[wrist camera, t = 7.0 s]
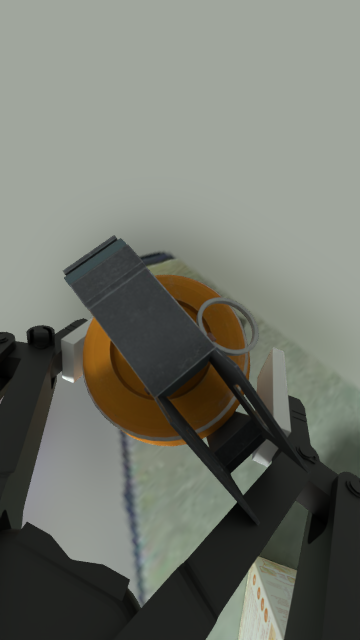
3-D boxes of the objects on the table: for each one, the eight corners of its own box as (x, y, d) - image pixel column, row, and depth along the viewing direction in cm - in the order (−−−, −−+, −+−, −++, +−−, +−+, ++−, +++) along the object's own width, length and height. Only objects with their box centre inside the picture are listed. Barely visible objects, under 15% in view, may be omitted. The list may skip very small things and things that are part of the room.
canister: (186, 319, 28) (168, 149, 9) (257, 400, 25) (454, 403, 6) (121, 371, 27) (-61, 300, 8) (188, 462, 24) (159, 721, 5)
